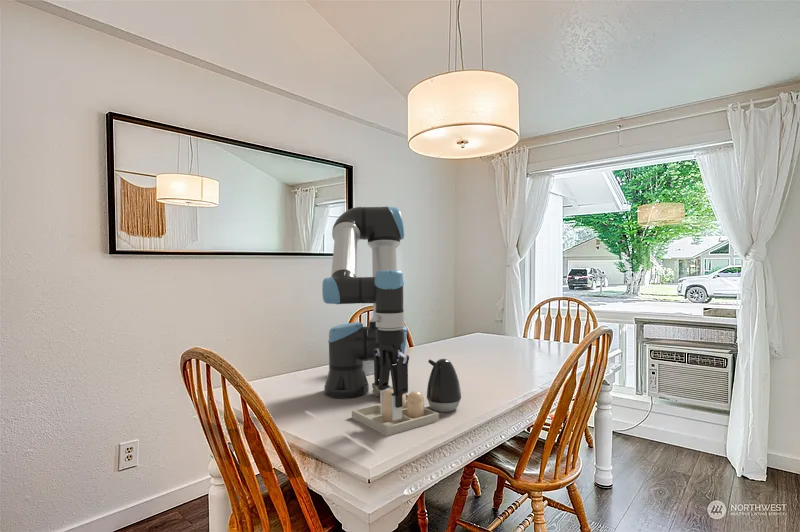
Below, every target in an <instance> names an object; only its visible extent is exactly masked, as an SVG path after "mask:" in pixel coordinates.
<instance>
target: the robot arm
mask: <svg viewBox="0 0 800 532" xmlns="http://www.w3.org/2000/svg"><path fill="white" fill-rule="evenodd" d="M404 229H405V227H404V220H403V216H402V212H401V209H400V208H398V207H396V206H394V207H393V206H355V207H352V208H350V209H347V210H346V211H344V212H343V213H342V214H341V215H339V217H338V218H337V219H336V221H335V222H334V224H333V227H332V230H331V231H332V232H331V236H332V239H333V241H334V243H333V250H332V251H333V253H332V264H331V274H330V277H325V278H323V280H322V291H321V292H322V300H323V303H325V304H327V305H330V304H331V305H348V304H349V305H351V304H352V305H353V304H354V305H355V304H372V311H373V312H372V317H371V319H370V320H368V326H364V324H363V323H362V322H360V321H358V322H348V323H343V324H338V325H335V326H333V327H331V328H330V329H329V331H328V340H327V341H328V363H329V364H328V374H327V377H326V380H325V384H324V387H323V389H324V391H323V392H324V393H325V394H324V393H323V394H324V395H325V396H327V397H330V398H335V399H349V398H350V399H351V398H357V397H361V396H364V395H367V394H368V393H369V392H370V391H369V389H370V387H369V386H370V385H369V382H368V378H367V375H365V372H364V369H363V361H374V374H373V375H374V382H373V383H375V386H378V388H379V390H380V397H379V401H380V403H379V404H380V409H381V415H382V396H383V393H384V392H385V391H386V390H389V389H387V388H389V387H391V386H390V385H389V383H390V377H391V385H392V387H393V392H394V393H392V394H391V395H392V420H393V421H394V420H398V419H401V418H402V405H403V404H402V395H403V394H404V393H406V394H409V393H408V392H409V376H408V375H409V360H410V356H409V355H408V354H405V353H406V346H407V335H408V333H407V331H408V327H407V326H406V325H405V313H404V285H405V284H404V283H405V282H404V273H403V271H402V270H400V269H397V267H398V266H397V248H398V247H399V246H400V245H401V240H403V239H405V230H404ZM360 240H366V241H367V245H368V247H370V249H371V256H372V257H371V259H372V260H371V261H372V267H371V268H372V276H363V277H362V276H357V275H358V274H357V272H358V269H357V268H358V267H357V266H358V241H360ZM367 330H368V336H367ZM397 389H398V390H397Z"/></svg>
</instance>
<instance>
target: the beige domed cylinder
mask: <svg viewBox="0 0 800 532" xmlns="http://www.w3.org/2000/svg"><path fill="white" fill-rule="evenodd" d="M391 387H392V388H391V389H392V390H393V386H391ZM397 390H398V389H397ZM406 395H407V393H404V394H403V395H402V404H403V405H402V409H405V408H406Z"/></svg>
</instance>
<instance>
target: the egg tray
mask: <svg viewBox="0 0 800 532" xmlns="http://www.w3.org/2000/svg"><path fill="white" fill-rule="evenodd" d="M351 418H353V419H354V420H356V421H357V422H360V423H362V424H363V425H365V426H367V427H369V428H372V429H373V430H375V431H377V432H379V433H381V434H382V435H385V437H389V436H391V435H395V434H398V433H402V432H405V431H409V430H412V429H415V428H419V427H423V426H425V425H430V424H433V423H436V422H440V412H438V411H435V410H433V409H429V408H426V407H424V416H423V417H419V418H415V419H412V418H410V417H408V416H407V401H406V408H405V409H402V418H401V419H400V420H399V421H396V422H385V421H383V420H382V415H381V409H380V403H376V404H372V405H368V406H364V407H360V408H359V407H358V408H355V409H351Z"/></svg>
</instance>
